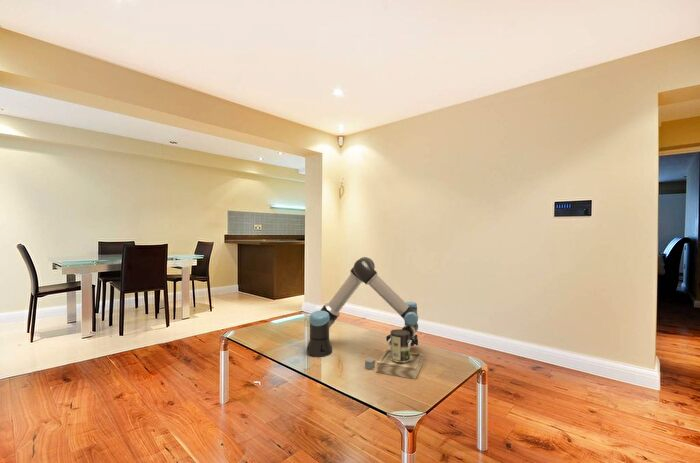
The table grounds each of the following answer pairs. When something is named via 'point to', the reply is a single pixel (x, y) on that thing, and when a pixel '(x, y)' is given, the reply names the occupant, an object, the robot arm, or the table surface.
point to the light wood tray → (400, 365)
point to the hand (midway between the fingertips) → (398, 345)
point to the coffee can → (400, 345)
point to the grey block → (369, 363)
